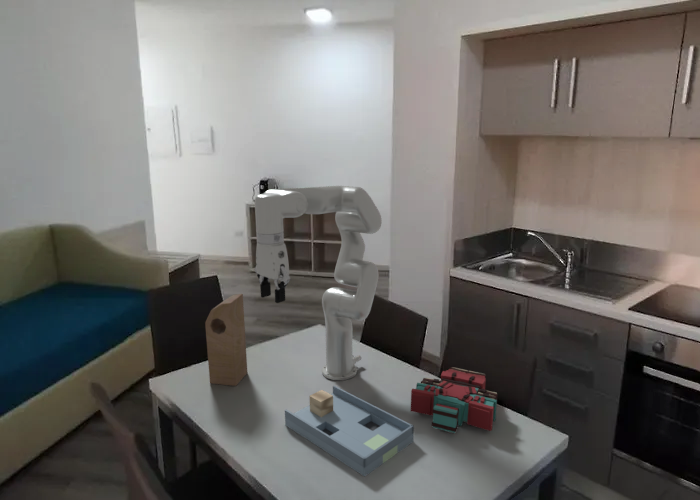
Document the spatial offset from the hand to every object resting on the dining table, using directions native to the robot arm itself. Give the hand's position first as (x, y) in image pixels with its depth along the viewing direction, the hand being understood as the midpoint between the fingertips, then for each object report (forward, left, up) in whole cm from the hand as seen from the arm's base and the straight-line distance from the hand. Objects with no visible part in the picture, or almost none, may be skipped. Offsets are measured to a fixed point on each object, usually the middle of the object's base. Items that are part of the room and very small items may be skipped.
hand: (273, 298), depth 142 cm
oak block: (-8, +11, -35) cm, 38 cm away
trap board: (-8, +22, -38) cm, 44 cm away
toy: (-40, +38, -38) cm, 67 cm away
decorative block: (-2, -31, -38) cm, 49 cm away
